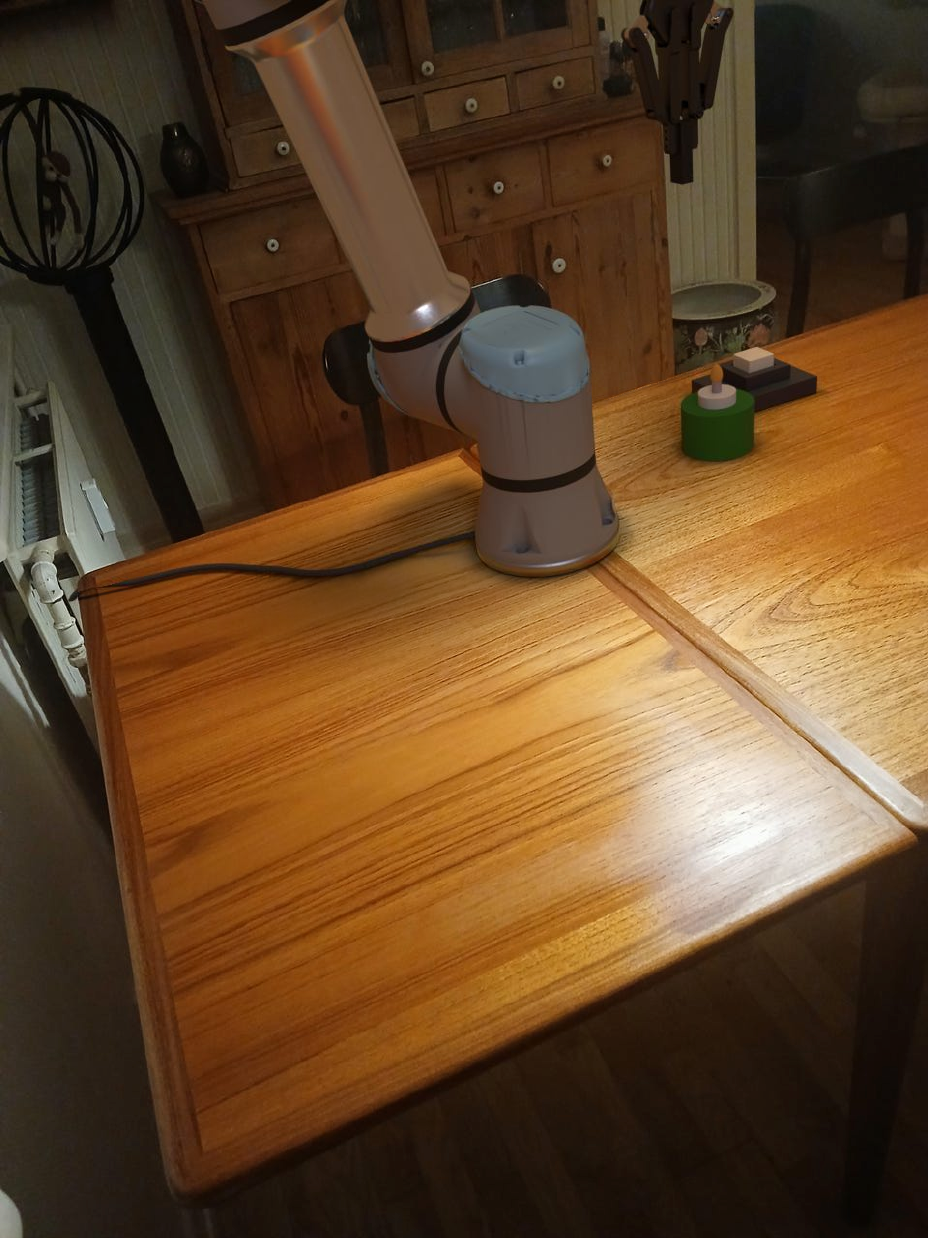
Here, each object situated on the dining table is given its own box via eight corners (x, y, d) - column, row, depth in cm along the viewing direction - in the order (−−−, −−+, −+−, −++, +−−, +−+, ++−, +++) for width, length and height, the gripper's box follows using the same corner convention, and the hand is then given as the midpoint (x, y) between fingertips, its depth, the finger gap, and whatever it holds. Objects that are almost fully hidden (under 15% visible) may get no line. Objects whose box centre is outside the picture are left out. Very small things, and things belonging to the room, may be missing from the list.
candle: (726, 467, 108) (726, 383, 103) (667, 451, 114) (664, 371, 108) (768, 439, 112) (769, 357, 107) (709, 425, 118) (708, 347, 112)
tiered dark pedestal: (735, 418, 118) (735, 388, 116) (691, 395, 126) (690, 366, 124) (816, 392, 121) (818, 362, 119) (768, 371, 129) (769, 342, 127)
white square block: (749, 374, 120) (749, 361, 119) (732, 367, 123) (732, 353, 122) (773, 366, 120) (774, 353, 120) (756, 359, 123) (757, 346, 122)
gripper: (709, -67, 104) (711, 166, 117) (602, -47, 101) (617, 190, 114) (749, -75, 98) (747, 172, 111) (638, -53, 95) (649, 198, 108)
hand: (681, 181), depth 112 cm, fingers closed
